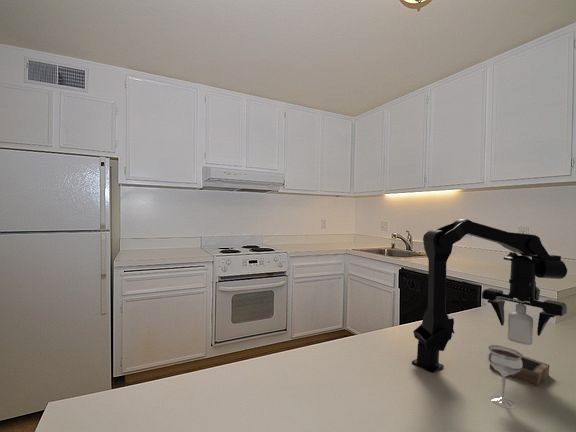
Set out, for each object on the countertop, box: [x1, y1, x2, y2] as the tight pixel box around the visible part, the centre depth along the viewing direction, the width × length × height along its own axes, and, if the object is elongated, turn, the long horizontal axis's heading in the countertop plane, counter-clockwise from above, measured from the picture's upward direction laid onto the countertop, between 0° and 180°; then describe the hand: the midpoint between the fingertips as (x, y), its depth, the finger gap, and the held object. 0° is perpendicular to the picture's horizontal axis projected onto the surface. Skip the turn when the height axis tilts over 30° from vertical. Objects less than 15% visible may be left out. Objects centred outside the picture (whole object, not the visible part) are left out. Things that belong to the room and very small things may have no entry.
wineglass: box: [487, 344, 524, 409], centre depth 70 cm, size 7×7×12 cm
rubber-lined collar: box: [489, 355, 550, 387], centre depth 85 cm, size 11×11×3 cm
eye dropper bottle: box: [507, 303, 534, 346], centre depth 86 cm, size 4×6×12 cm
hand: (519, 330), depth 86 cm, fingers closed on eye dropper bottle, 8 cm apart
